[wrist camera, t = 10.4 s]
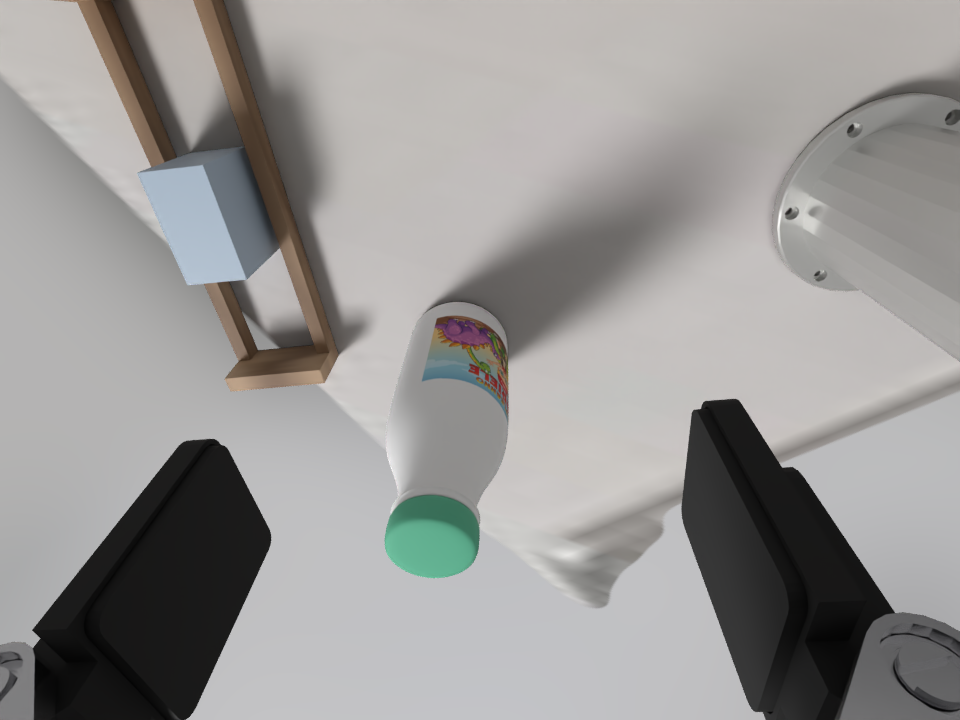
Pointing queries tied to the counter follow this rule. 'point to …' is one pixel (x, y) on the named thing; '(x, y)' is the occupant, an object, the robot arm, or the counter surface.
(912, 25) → the counter surface
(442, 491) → the milk bottle
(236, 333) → the bottom track
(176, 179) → the pale blue upright box
